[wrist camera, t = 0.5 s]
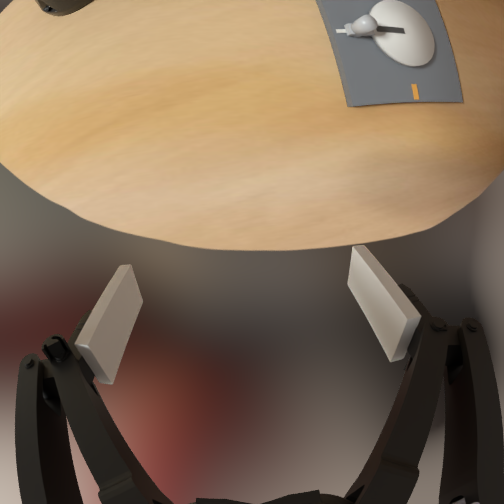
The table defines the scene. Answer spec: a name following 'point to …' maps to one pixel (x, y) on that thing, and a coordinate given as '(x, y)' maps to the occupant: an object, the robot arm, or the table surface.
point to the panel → (382, 67)
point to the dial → (396, 32)
